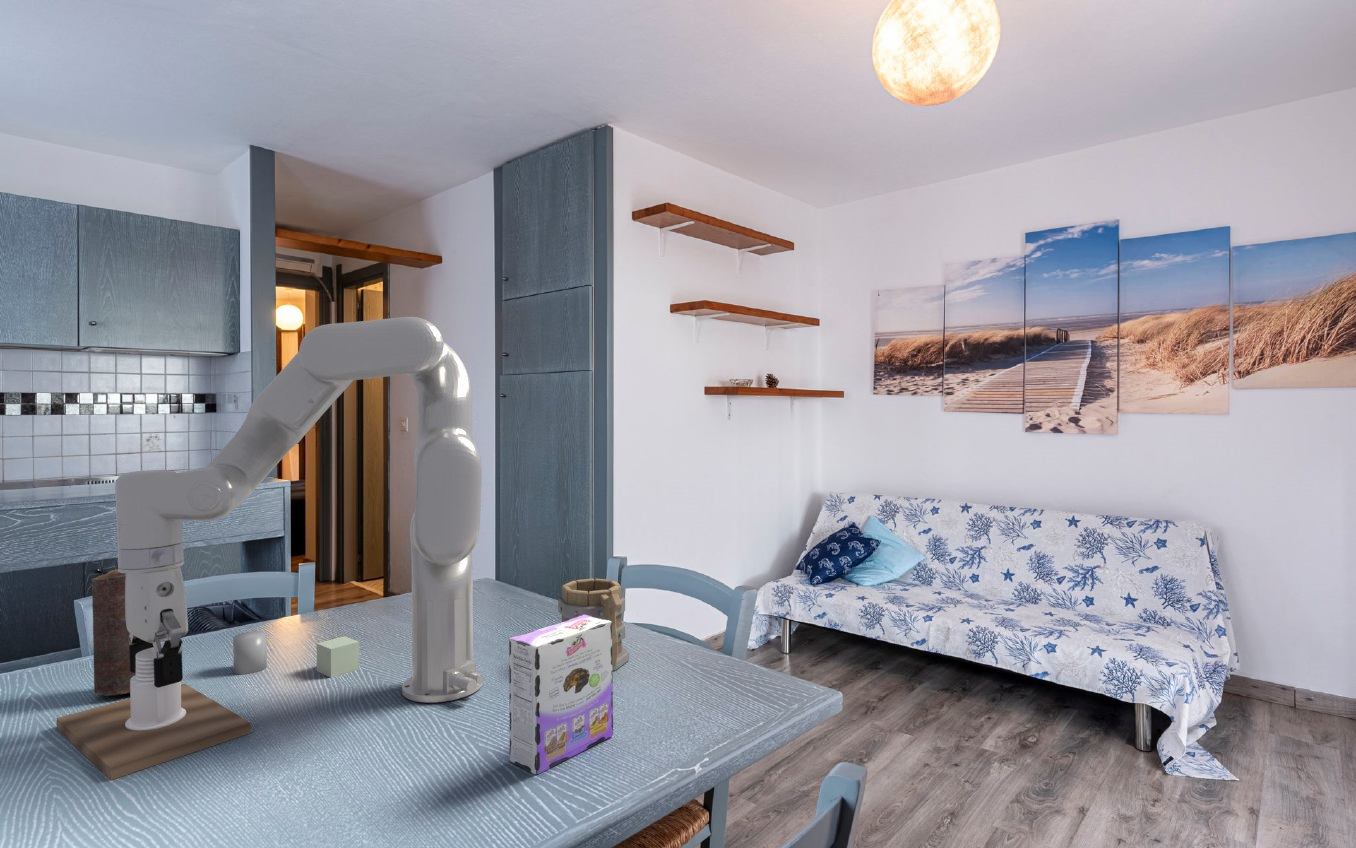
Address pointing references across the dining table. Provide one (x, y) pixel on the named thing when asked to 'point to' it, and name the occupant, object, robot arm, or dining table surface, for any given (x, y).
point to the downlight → (152, 697)
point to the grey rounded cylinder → (249, 652)
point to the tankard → (597, 609)
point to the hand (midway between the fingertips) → (155, 676)
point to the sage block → (337, 656)
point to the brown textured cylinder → (110, 635)
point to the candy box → (560, 691)
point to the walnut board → (149, 733)
